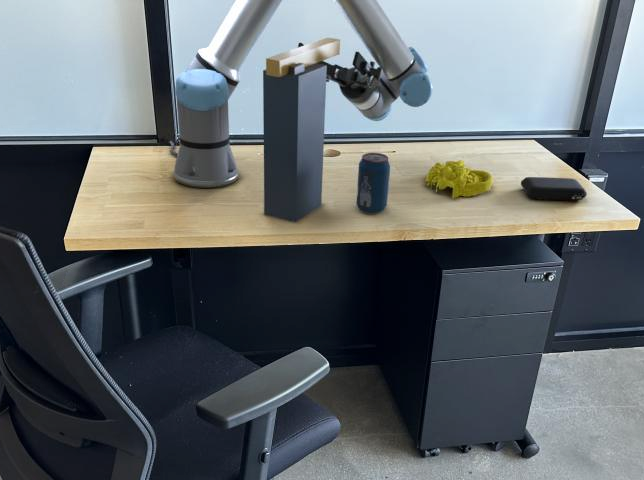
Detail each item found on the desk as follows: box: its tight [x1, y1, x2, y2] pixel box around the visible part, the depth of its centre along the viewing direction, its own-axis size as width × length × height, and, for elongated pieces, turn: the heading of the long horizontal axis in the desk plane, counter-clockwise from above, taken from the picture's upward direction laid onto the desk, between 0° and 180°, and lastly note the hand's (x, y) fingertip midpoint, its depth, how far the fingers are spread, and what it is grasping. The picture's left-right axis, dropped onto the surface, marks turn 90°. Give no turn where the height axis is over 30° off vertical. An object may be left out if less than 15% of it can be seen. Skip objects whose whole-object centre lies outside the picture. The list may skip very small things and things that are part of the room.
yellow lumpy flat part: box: [424, 159, 493, 199], centre depth 183 cm, size 17×16×4 cm
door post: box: [262, 63, 327, 223], centre depth 157 cm, size 12×8×32 cm, turn 154°
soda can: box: [355, 152, 391, 215], centre depth 165 cm, size 7×7×12 cm
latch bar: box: [265, 37, 341, 77], centre depth 151 cm, size 26×3×3 cm, turn 154°
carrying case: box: [520, 176, 588, 201], centre depth 180 cm, size 11×3×15 cm
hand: (326, 53), depth 159 cm, fingers open, 13 cm apart
